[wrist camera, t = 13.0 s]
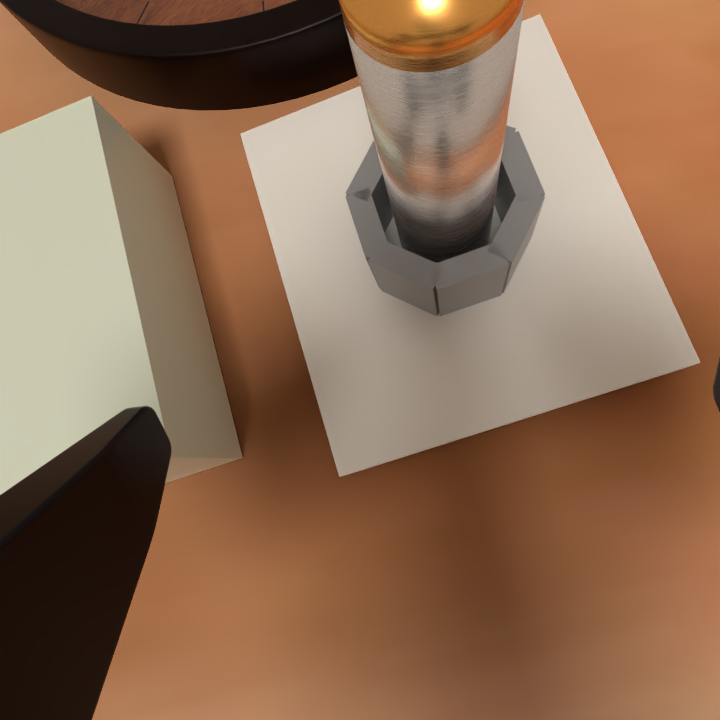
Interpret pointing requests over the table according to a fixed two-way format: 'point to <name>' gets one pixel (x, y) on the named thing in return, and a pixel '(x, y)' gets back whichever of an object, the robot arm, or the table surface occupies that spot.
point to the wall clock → (196, 48)
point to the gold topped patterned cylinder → (437, 111)
